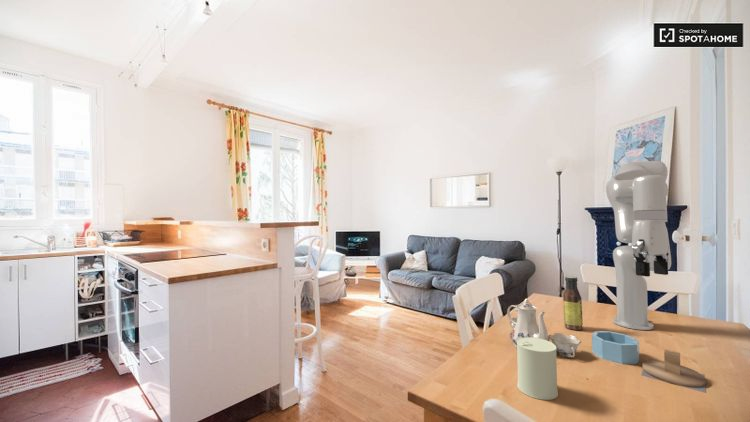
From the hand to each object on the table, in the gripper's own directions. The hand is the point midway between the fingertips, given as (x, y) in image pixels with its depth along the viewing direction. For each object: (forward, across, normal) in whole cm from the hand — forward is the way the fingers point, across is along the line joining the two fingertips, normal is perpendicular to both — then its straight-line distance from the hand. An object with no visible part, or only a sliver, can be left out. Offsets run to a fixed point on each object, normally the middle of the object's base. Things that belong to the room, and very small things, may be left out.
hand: (652, 275), depth 91 cm
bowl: (+26, +4, -9) cm, 28 cm away
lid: (+26, +3, +5) cm, 27 cm away
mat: (+27, +3, +5) cm, 27 cm away
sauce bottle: (+26, -10, -30) cm, 41 cm away
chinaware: (+27, +18, -26) cm, 41 cm away
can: (+28, +41, -6) cm, 50 cm away
